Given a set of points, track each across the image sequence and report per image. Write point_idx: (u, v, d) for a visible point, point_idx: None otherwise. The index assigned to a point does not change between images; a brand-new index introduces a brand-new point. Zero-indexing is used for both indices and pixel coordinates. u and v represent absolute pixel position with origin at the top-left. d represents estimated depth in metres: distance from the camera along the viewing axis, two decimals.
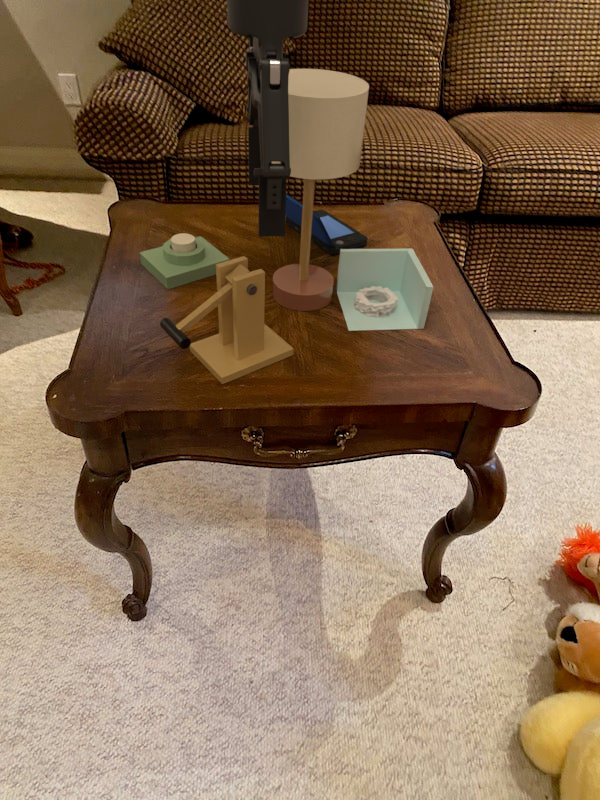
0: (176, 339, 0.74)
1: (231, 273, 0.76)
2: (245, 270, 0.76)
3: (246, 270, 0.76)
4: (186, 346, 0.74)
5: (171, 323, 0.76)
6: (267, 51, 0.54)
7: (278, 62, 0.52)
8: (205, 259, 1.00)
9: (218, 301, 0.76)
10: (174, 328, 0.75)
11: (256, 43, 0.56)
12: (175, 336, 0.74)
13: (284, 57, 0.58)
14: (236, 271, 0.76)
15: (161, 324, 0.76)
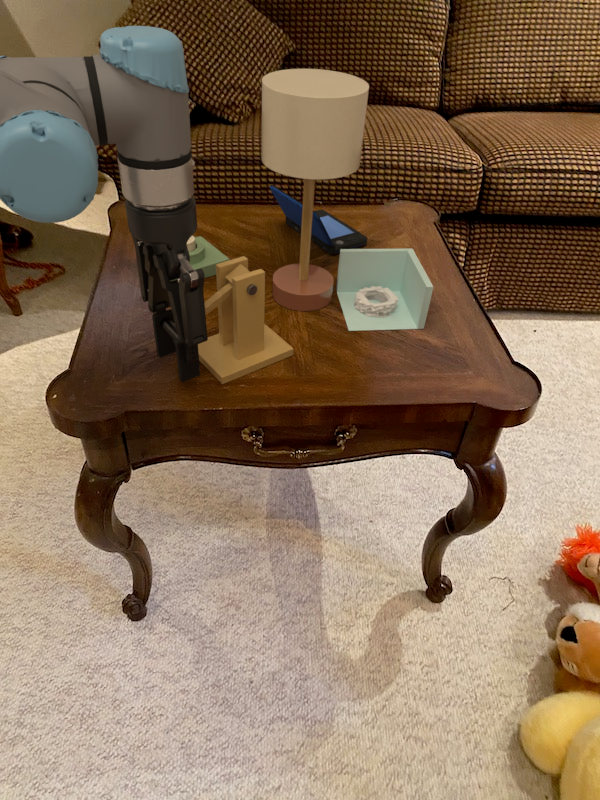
0: None
1: (231, 273, 0.76)
2: (245, 270, 0.76)
3: (246, 270, 0.76)
4: None
5: (171, 323, 0.76)
6: (177, 252, 0.64)
7: (196, 276, 0.64)
8: (205, 259, 1.00)
9: (218, 301, 0.76)
10: (174, 328, 0.75)
11: None
12: (175, 336, 0.74)
13: None
14: (236, 271, 0.76)
15: (161, 324, 0.76)
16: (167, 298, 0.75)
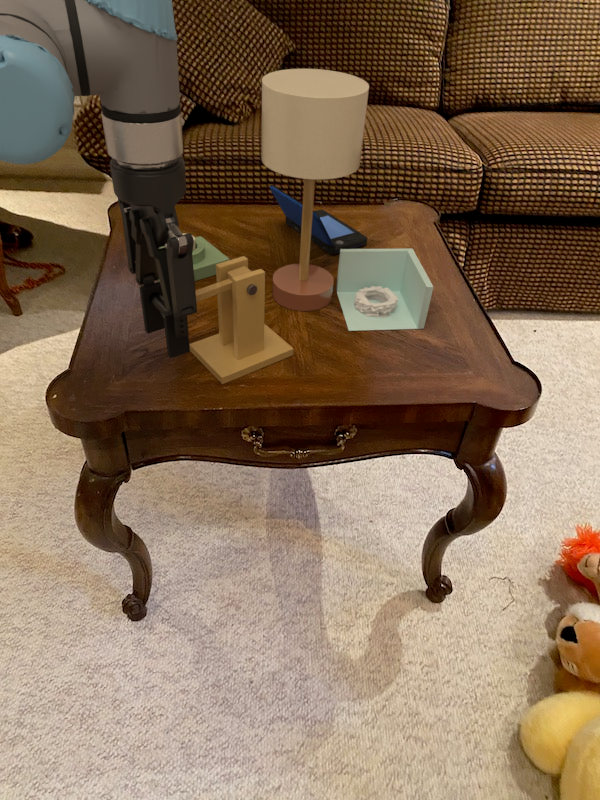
0: None
1: (234, 270, 0.76)
2: (248, 271, 0.76)
3: (250, 271, 0.76)
4: None
5: (162, 298, 0.72)
6: (164, 215, 0.61)
7: (185, 240, 0.61)
8: (205, 259, 1.00)
9: (215, 291, 0.75)
10: None
11: (145, 205, 0.62)
12: None
13: None
14: (239, 270, 0.76)
15: (151, 297, 0.73)
16: (156, 269, 0.72)
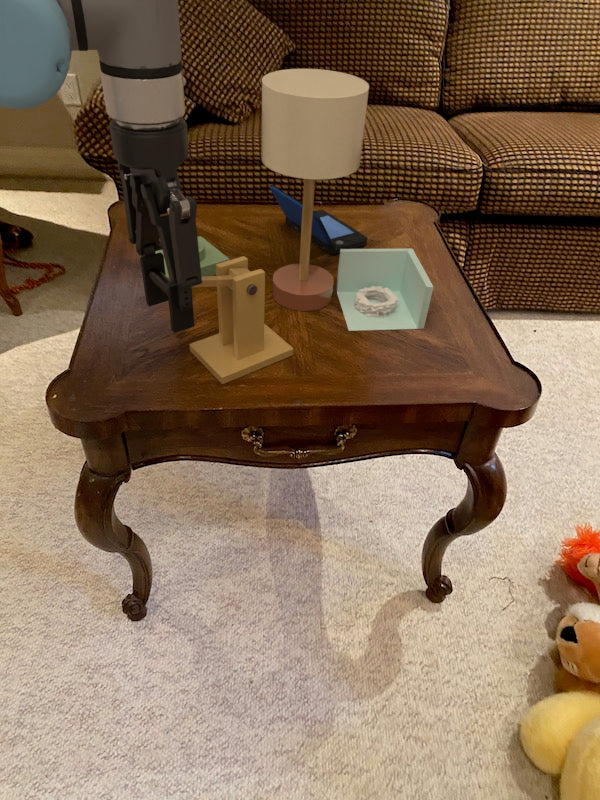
0: None
1: (236, 269, 0.76)
2: None
3: None
4: None
5: None
6: (166, 179, 0.59)
7: (188, 204, 0.58)
8: (205, 259, 1.00)
9: (215, 283, 0.74)
10: (167, 278, 0.70)
11: (146, 170, 0.60)
12: None
13: None
14: (241, 270, 0.77)
15: (152, 271, 0.71)
16: (157, 239, 0.70)
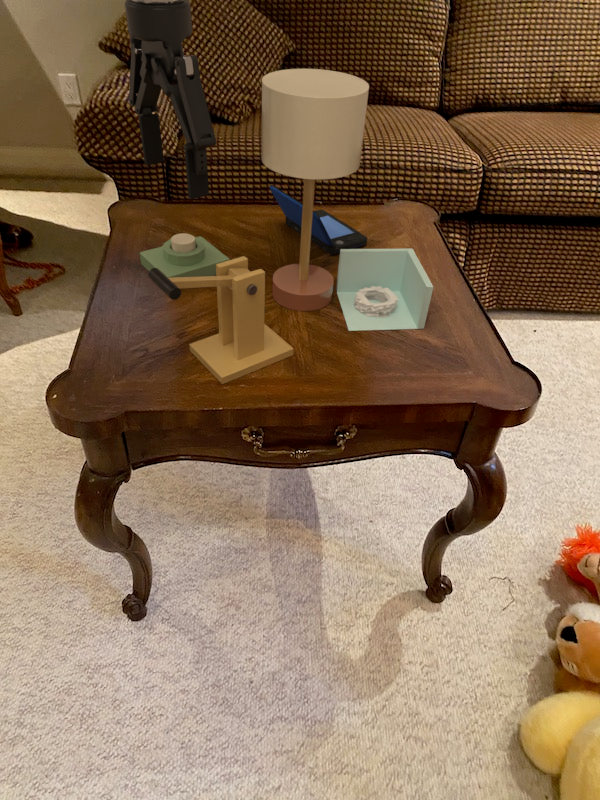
0: (168, 285, 0.68)
1: (236, 269, 0.76)
2: None
3: None
4: (174, 297, 0.69)
5: None
6: (173, 51, 0.69)
7: (190, 58, 0.68)
8: (205, 259, 1.00)
9: (215, 283, 0.74)
10: (167, 278, 0.70)
11: (155, 46, 0.70)
12: (167, 283, 0.69)
13: None
14: (241, 270, 0.77)
15: (152, 271, 0.71)
16: (154, 104, 0.81)
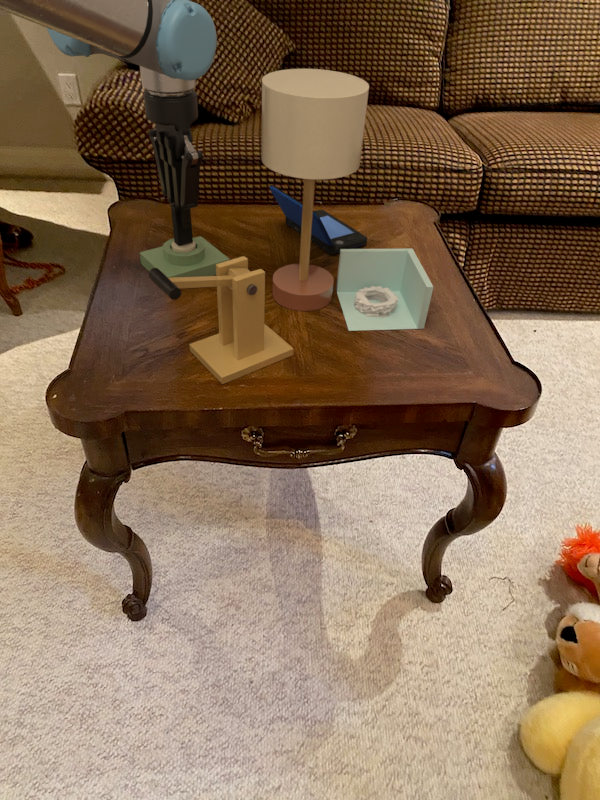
0: (168, 285, 0.68)
1: (236, 269, 0.76)
2: None
3: None
4: (174, 297, 0.69)
5: None
6: (183, 133, 0.84)
7: (197, 156, 0.85)
8: (205, 259, 1.00)
9: (215, 283, 0.74)
10: (167, 278, 0.70)
11: (168, 127, 0.86)
12: (167, 283, 0.69)
13: None
14: (241, 270, 0.77)
15: (152, 271, 0.71)
16: None
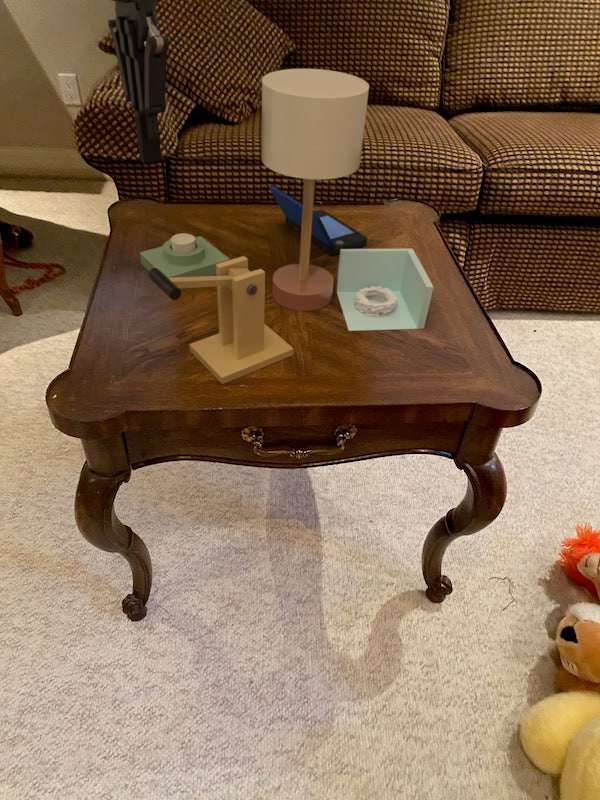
0: (168, 285, 0.68)
1: (236, 269, 0.76)
2: None
3: None
4: (174, 297, 0.69)
5: None
6: (145, 12, 0.71)
7: (162, 41, 0.72)
8: (205, 259, 1.00)
9: (215, 283, 0.74)
10: (167, 278, 0.70)
11: (128, 8, 0.73)
12: (167, 283, 0.69)
13: None
14: (241, 270, 0.77)
15: (152, 271, 0.71)
16: None
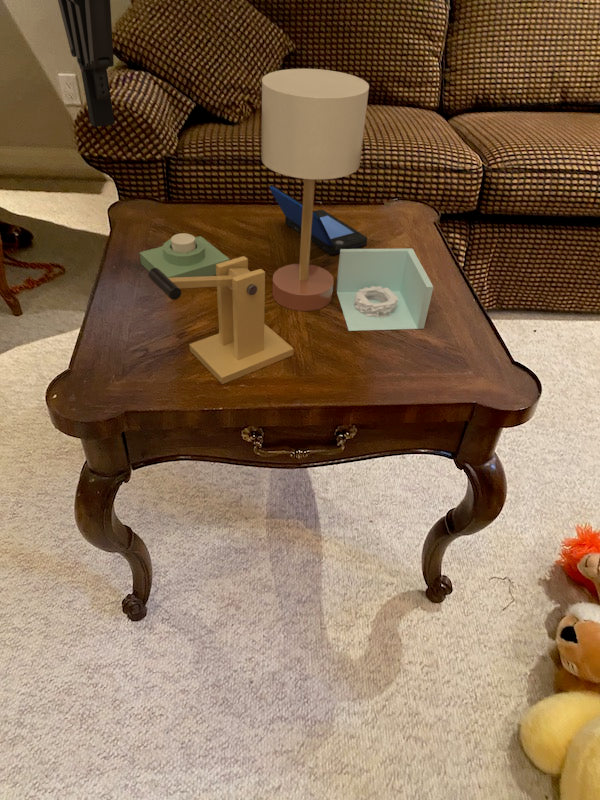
0: (168, 285, 0.68)
1: (236, 269, 0.76)
2: None
3: None
4: (174, 297, 0.69)
5: None
6: None
7: None
8: (205, 259, 1.00)
9: (215, 283, 0.74)
10: (167, 278, 0.70)
11: None
12: (167, 283, 0.69)
13: None
14: (241, 270, 0.77)
15: (152, 271, 0.71)
16: None
